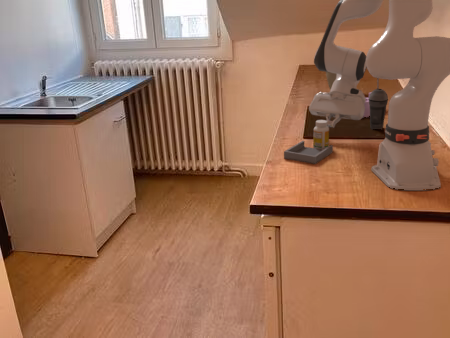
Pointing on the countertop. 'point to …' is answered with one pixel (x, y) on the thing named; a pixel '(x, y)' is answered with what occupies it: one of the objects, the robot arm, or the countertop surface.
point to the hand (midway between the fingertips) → (329, 126)
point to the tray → (307, 153)
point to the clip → (367, 107)
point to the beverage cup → (377, 107)
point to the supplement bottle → (321, 135)
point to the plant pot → (330, 78)
